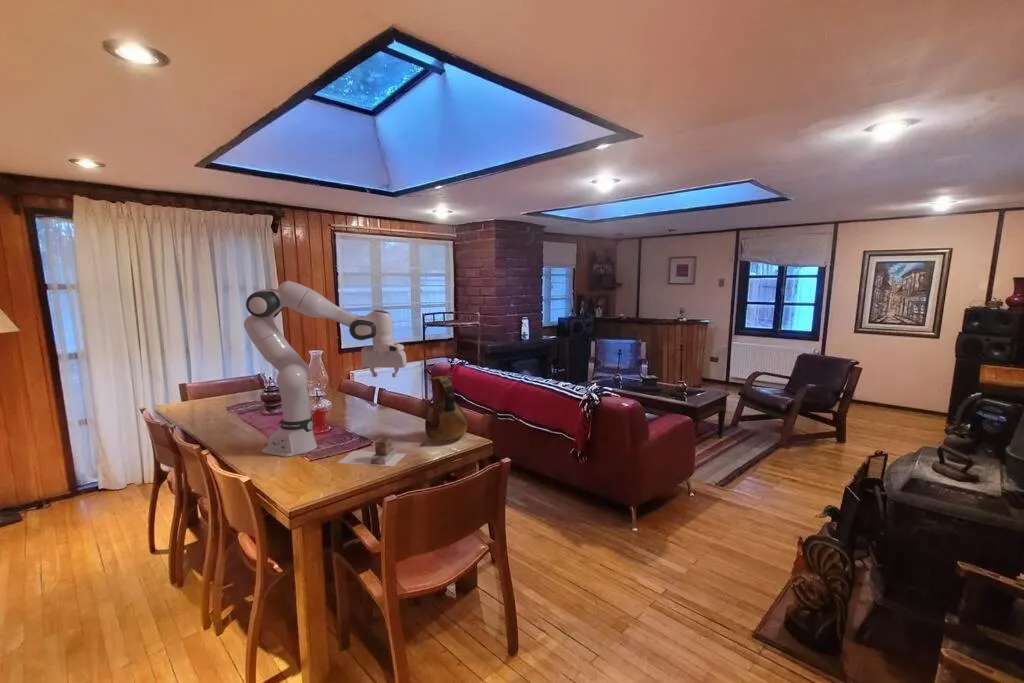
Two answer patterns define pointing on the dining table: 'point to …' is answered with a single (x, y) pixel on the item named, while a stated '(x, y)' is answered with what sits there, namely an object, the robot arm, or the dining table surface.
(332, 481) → the dining table surface
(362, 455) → the board
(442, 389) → the ceramic pitcher
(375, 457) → the sanding block
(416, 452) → the dining table surface
